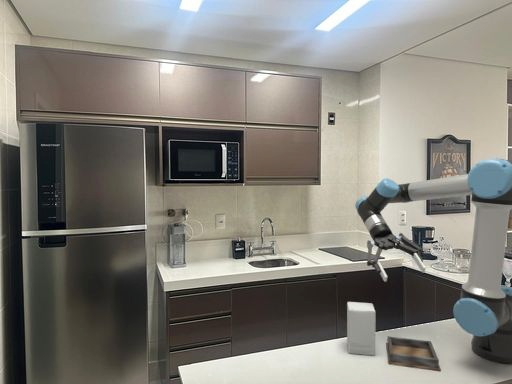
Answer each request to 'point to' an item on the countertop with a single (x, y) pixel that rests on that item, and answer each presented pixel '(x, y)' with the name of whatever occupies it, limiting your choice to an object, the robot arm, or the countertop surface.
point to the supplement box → (361, 328)
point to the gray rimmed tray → (412, 353)
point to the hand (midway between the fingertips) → (405, 274)
